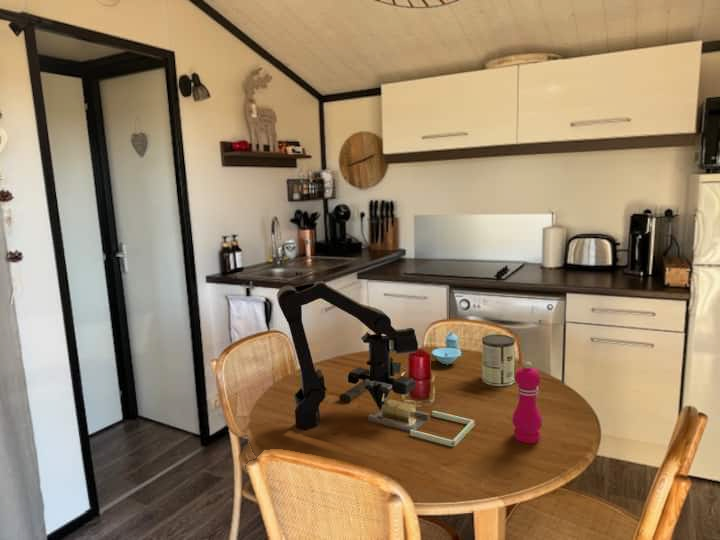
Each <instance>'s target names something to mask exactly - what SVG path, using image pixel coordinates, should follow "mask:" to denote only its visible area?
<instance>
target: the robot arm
mask: <svg viewBox="0 0 720 540" xmlns="http://www.w3.org/2000/svg"><path fill="white" fill-rule="evenodd" d="M320 299H321V300H323V301H325V302H327V303H329V305H333V307H334V306H335V307H336V308H338V309H340V310H341V311H343V312H345V313H346V314H348V315H351V316H352V317H354V318H356V320H359V322H361V323H362V324H363V325H364V326H365V327H367V328H368V329H369V330H370V331H372V333H373V334H371V333H369V332H368V331H366V332H365V334H363V336H361V341H362V342H363V343H364V344H368V360H367V361H366V366H367V365H368V366H369V369H368V368H365V367H364V368H363V367H356V368H354V369H353V370H351V371H349V372H348V374H347V383H350V384H354V385H357V384H359V383H360V380H362V381H363V380H365V381H366V386H365V389H367V390H366V391H368V392H369V394H370V396H371V397H372V399H373V401H374V403H375V405H376V406H377V408H378V410H380V411H381V410H382V404H383V403H385V402H386V401H387V399H388V397H389V394H390V392H391V391H392V392H393V393H395V394H399V395H407V394H408V393H409V392H411V391H412V390H414V389H415V388H416V382H415V380H414V378H413V377H408V376H403V375H401V376H398V378H393V377H394V376H395V375H396V374H398V375H399V374H401V369H402V362H399V361H395V360H394V358H393V357H391V351H392V352H394V353H395V355H402V354H403V355H404V354H412V353H413V354H414V353H417V352H418V349H419V342H418V339H417V335H416V332H415V329H414V327H408V328H403V329H395V327H393V326H392V321H391V318H390V317H389V316H388V315H387V314H386V313H385V312H384V311H383V310H381V309H378V308H376V307H372V306H370V305H365V304H362V303H360V302H358V301H357V300H355V299H353V298H351V297H349V296H347V295H345V294H344V293H342V292H340V291H338V290H336V289H335V288H333V287H331V286H330V285H327V284H326V283H325V282H324V281H323V280H317V281H314V282H310V283H304V284H299V285H296V286H295V285H294V286H293V285H292V286H291V285H284V286H281V288H279V290H278V291H277V293H276V300H277V303H278V306H279V308H280V311H281V312H282V314H283V316H284V318H285V320H286V322H287V324H288V328H289V331H290V335H291V339H292V342H293V347H294V351H295V353H296V358H297V362H298V365H299V369H300V386H301V387H300V388H299V389H298V390H297V392H295V394H294V401H295V404H296V405H295V406H296V407H295V409H294V415H295V418H294V419H295V429H299V430H302V431H307V430H311V429H314V428H316V427H318V426H319V422H320V421H321V416H320V415H321V414H320V405H321V404H322V402H324V400H325V398H326V392H327V391H328V389H327V386H326V383H325V376H324V374H323V372H322V369H321V368H319V369H317V370H316V367H315V365H314V362H313V358H312V353H311V351H310V346H309V343H308V339H307V335H306V331H305V327H304V324H303V307H302V306H304V305H308V304H309V303H313V302H315V301H317V300H320Z"/></svg>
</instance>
